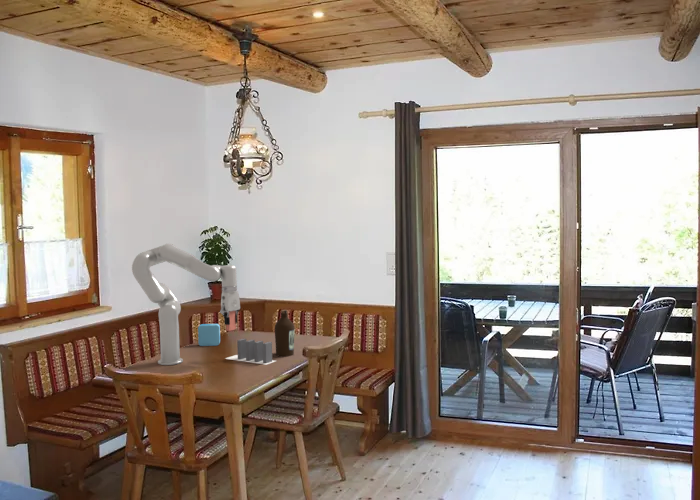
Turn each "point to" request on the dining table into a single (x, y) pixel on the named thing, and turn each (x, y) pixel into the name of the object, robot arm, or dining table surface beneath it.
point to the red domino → (231, 321)
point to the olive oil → (284, 336)
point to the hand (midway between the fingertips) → (230, 323)
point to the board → (247, 361)
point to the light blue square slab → (209, 334)
